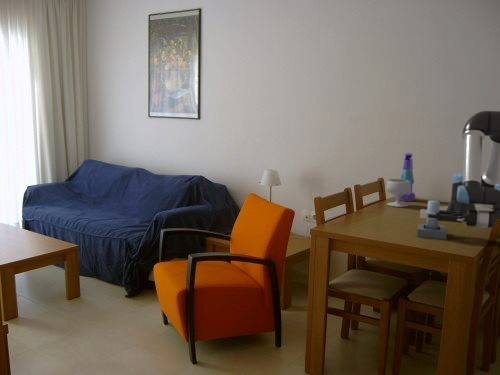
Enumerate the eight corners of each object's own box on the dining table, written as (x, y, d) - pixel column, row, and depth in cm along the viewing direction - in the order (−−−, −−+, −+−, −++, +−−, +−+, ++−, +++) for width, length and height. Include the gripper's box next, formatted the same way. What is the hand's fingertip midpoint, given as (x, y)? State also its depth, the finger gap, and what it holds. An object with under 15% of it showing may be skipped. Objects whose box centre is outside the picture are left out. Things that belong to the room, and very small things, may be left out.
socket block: (444, 233, 218) (445, 225, 218) (446, 239, 207) (446, 231, 207) (417, 230, 222) (417, 223, 222) (417, 236, 211) (417, 229, 211)
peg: (437, 231, 216) (439, 200, 214) (437, 233, 211) (440, 202, 209) (425, 229, 218) (427, 200, 215) (425, 232, 213) (428, 202, 211)
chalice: (380, 204, 283) (381, 179, 280) (394, 202, 291) (396, 178, 288) (400, 208, 272) (401, 183, 269) (414, 206, 280) (416, 181, 277)
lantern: (419, 201, 294) (422, 153, 289) (401, 202, 292) (405, 153, 287) (409, 197, 307) (412, 151, 302) (392, 198, 305) (395, 151, 300)
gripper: (478, 231, 200) (419, 226, 207) (473, 222, 216) (419, 217, 224) (479, 214, 198) (420, 209, 206) (475, 206, 215) (421, 201, 223)
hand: (420, 213), depth 215 cm, fingers closed on peg, 5 cm apart
